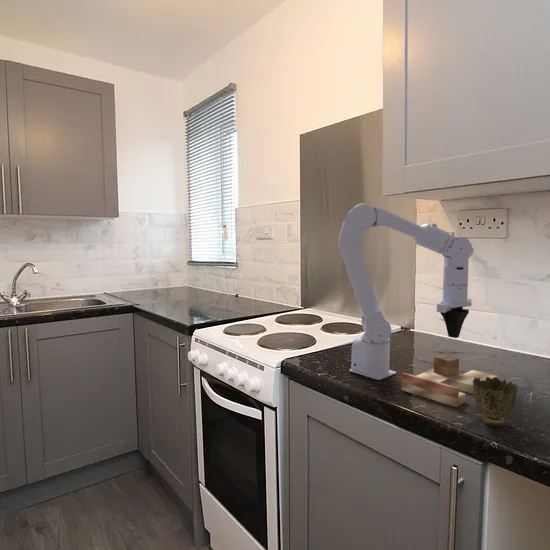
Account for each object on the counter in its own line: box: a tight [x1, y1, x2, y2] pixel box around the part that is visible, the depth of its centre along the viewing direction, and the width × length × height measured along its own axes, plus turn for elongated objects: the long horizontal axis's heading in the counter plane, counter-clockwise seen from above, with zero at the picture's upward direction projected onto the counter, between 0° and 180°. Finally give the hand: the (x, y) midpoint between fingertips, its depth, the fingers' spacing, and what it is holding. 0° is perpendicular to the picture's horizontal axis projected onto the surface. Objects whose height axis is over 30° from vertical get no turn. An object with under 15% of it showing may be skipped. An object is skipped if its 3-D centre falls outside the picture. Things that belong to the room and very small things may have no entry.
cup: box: [473, 376, 518, 427], centre depth 76 cm, size 8×7×8 cm
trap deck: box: [401, 368, 498, 408], centre depth 96 cm, size 13×21×4 cm, turn 130°
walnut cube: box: [433, 354, 460, 377], centre depth 99 cm, size 4×4×4 cm
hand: (453, 337), depth 103 cm, fingers closed
